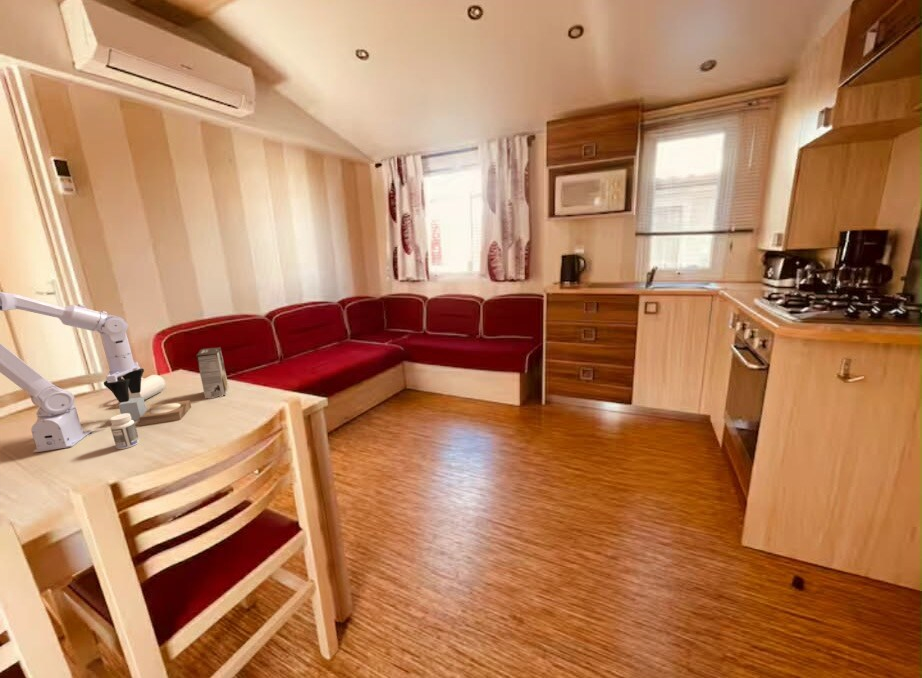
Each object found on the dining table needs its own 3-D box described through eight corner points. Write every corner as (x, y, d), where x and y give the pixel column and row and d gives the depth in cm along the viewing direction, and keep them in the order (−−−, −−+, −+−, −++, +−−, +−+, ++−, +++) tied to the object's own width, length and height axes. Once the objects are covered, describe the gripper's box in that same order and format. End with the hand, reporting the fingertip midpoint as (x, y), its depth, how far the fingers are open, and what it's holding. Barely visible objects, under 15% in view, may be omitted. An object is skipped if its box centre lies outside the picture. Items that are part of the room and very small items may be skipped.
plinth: (180, 419, 114) (178, 411, 114) (141, 425, 111) (139, 417, 110) (191, 407, 123) (189, 399, 123) (155, 412, 120) (153, 404, 120)
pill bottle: (137, 438, 103) (130, 410, 101) (141, 444, 100) (134, 415, 98) (114, 446, 100) (106, 417, 98) (118, 451, 97) (110, 422, 95)
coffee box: (209, 390, 138) (200, 349, 134) (229, 387, 140) (221, 346, 137) (204, 399, 130) (195, 355, 126) (225, 395, 132) (217, 352, 129)
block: (141, 420, 115) (136, 402, 113) (123, 422, 113) (118, 404, 112) (147, 414, 119) (143, 396, 118) (130, 416, 118) (125, 399, 116)
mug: (136, 409, 127) (160, 395, 139) (145, 394, 126) (169, 381, 138) (106, 393, 125) (133, 380, 137) (116, 378, 124) (142, 366, 136)
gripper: (123, 359, 106) (135, 403, 109) (145, 347, 119) (155, 387, 123) (92, 362, 104) (105, 407, 107) (118, 350, 117) (129, 390, 120)
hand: (130, 397), depth 115 cm, fingers open, 7 cm apart
